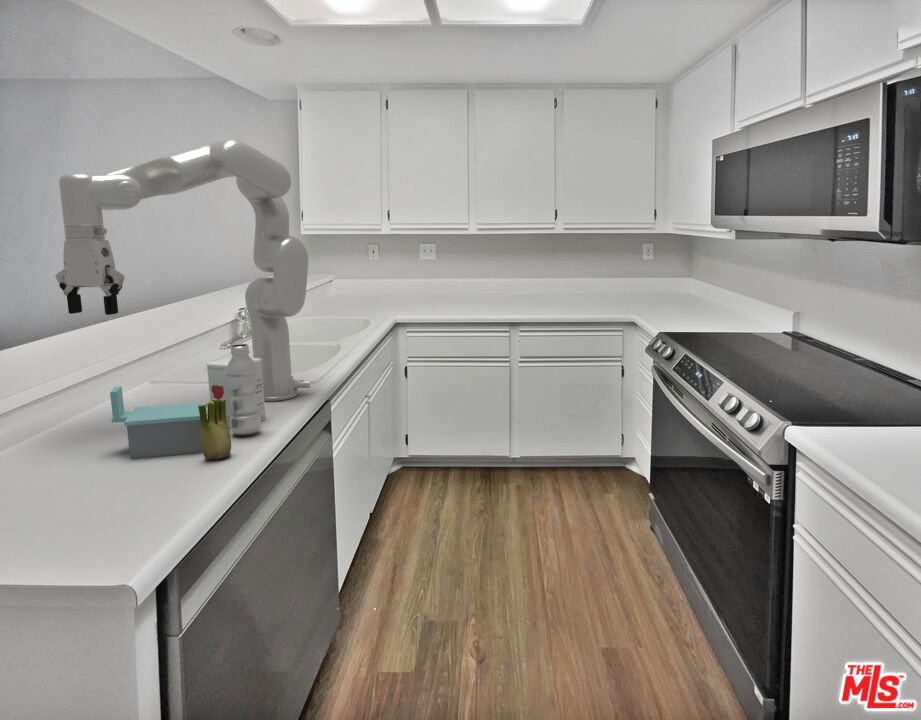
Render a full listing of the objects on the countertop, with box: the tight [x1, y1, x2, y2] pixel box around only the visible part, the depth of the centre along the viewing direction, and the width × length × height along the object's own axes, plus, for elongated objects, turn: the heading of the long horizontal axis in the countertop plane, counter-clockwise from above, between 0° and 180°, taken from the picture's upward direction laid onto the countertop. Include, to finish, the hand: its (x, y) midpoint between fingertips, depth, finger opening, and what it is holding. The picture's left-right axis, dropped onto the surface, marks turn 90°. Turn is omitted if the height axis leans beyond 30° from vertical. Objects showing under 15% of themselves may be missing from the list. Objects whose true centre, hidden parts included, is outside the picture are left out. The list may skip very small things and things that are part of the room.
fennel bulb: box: [198, 399, 232, 461], centre depth 143 cm, size 6×5×12 cm
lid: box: [109, 385, 208, 427], centre depth 149 cm, size 18×12×7 cm, turn 104°
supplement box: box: [206, 355, 266, 429], centre depth 168 cm, size 9×9×15 cm
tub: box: [126, 420, 203, 460], centre depth 151 cm, size 14×11×7 cm
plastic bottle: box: [226, 343, 262, 436], centre depth 158 cm, size 6×7×20 cm
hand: (93, 313), depth 157 cm, fingers open, 9 cm apart
